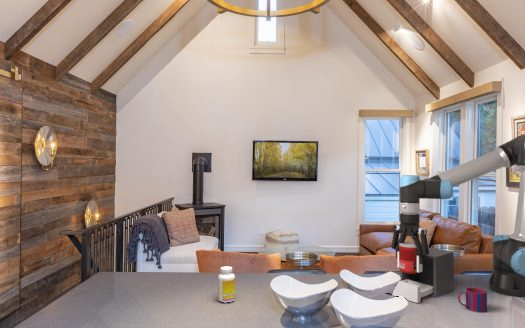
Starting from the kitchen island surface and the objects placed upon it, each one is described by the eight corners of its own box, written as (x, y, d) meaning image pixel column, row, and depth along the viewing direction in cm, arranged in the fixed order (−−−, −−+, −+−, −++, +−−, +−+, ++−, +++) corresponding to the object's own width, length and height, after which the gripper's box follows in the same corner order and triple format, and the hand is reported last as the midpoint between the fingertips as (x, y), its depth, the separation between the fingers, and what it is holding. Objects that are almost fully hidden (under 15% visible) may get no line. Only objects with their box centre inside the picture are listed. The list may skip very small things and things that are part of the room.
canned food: (418, 275, 147) (418, 246, 147) (397, 271, 151) (397, 244, 151) (421, 270, 153) (421, 243, 153) (401, 267, 157) (401, 241, 157)
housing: (453, 290, 157) (453, 252, 157) (436, 297, 149) (435, 256, 149) (418, 281, 170) (418, 245, 170) (400, 287, 162) (399, 249, 162)
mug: (490, 312, 133) (490, 293, 133) (461, 312, 134) (461, 292, 134) (481, 305, 140) (481, 287, 140) (453, 305, 141) (453, 286, 141)
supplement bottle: (238, 300, 146) (238, 267, 146) (226, 305, 142) (225, 271, 142) (227, 296, 151) (227, 264, 151) (214, 301, 146) (214, 267, 146)
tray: (438, 294, 151) (438, 279, 151) (417, 303, 142) (417, 287, 142) (404, 285, 163) (404, 271, 163) (383, 292, 154) (383, 277, 154)
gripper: (382, 211, 158) (382, 265, 158) (428, 216, 142) (429, 277, 141) (392, 209, 163) (392, 262, 163) (439, 215, 146) (439, 273, 146)
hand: (409, 269), depth 152 cm, fingers closed on canned food, 8 cm apart
